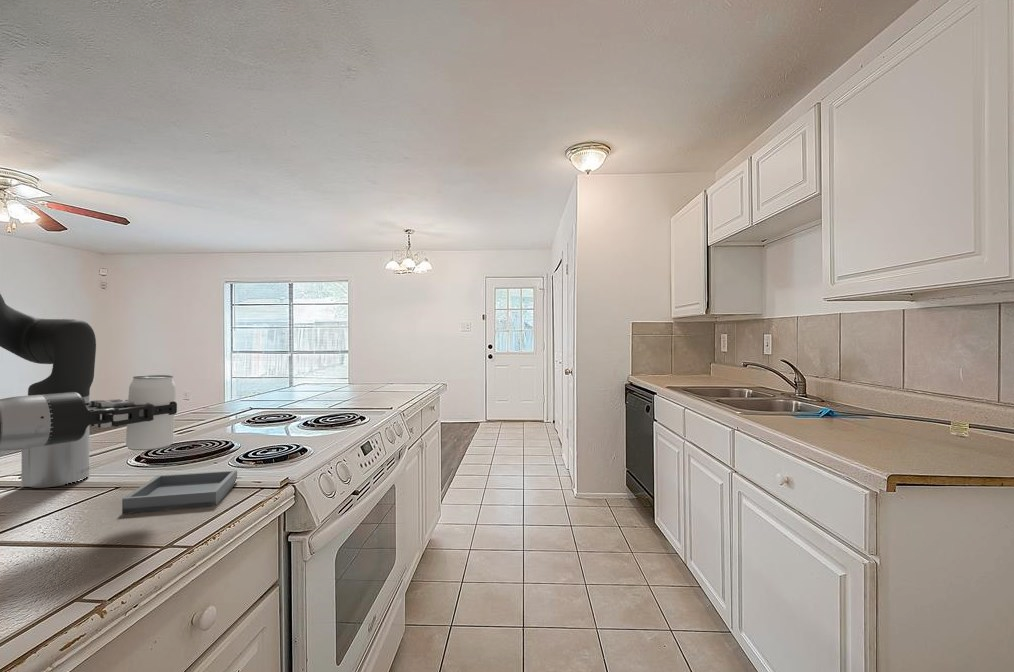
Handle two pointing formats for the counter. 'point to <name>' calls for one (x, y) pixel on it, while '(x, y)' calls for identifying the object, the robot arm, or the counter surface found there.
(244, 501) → the counter surface
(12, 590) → the counter surface
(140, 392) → the can
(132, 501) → the bin
